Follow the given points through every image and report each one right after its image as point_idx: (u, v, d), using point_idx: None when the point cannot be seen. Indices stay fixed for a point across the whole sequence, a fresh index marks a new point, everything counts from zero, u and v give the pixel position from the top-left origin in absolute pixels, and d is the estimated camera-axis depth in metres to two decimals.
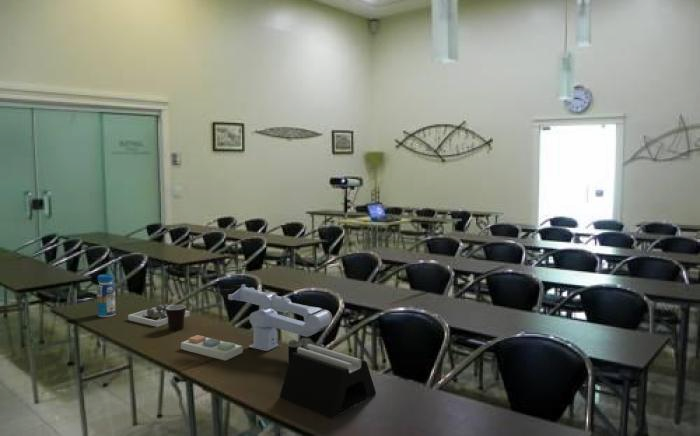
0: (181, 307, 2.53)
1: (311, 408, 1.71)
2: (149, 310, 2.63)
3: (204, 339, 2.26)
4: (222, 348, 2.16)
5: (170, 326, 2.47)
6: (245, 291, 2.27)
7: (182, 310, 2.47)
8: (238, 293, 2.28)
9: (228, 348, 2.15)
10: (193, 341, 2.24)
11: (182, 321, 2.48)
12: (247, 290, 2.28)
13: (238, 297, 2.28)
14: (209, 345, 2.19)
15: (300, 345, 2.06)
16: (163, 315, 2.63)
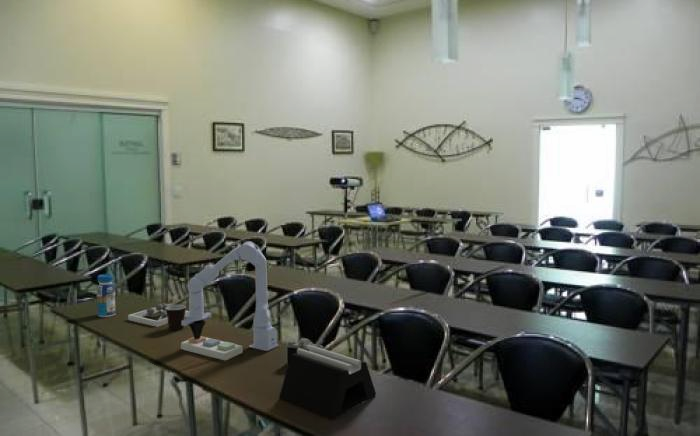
0: (181, 307, 2.53)
1: (310, 409, 1.70)
2: (149, 310, 2.63)
3: (204, 340, 2.26)
4: (222, 348, 2.16)
5: (170, 326, 2.47)
6: (189, 310, 2.24)
7: (182, 310, 2.47)
8: (189, 318, 2.23)
9: (228, 348, 2.15)
10: (193, 342, 2.24)
11: None
12: None
13: (192, 319, 2.22)
14: (209, 345, 2.19)
15: (299, 346, 2.05)
16: (164, 314, 2.64)
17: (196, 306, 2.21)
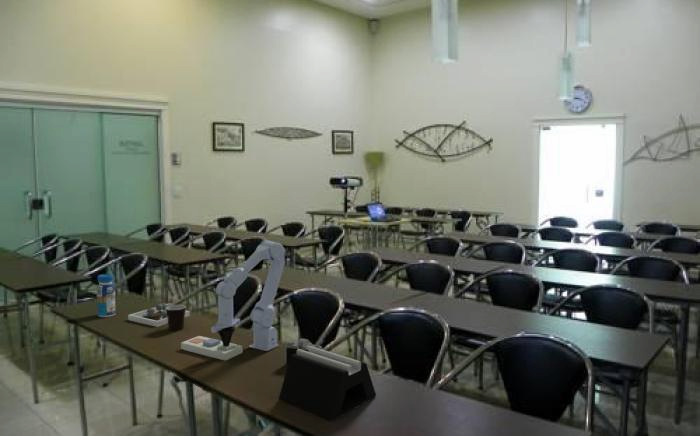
0: (181, 307, 2.53)
1: (310, 410, 1.69)
2: (150, 310, 2.63)
3: None
4: (222, 349, 2.16)
5: (170, 326, 2.47)
6: (218, 317, 2.16)
7: (182, 310, 2.47)
8: (219, 325, 2.15)
9: (228, 349, 2.15)
10: None
11: (182, 321, 2.48)
12: None
13: (222, 325, 2.14)
14: (209, 345, 2.19)
15: (298, 346, 2.05)
16: (165, 314, 2.65)
17: (230, 312, 2.14)
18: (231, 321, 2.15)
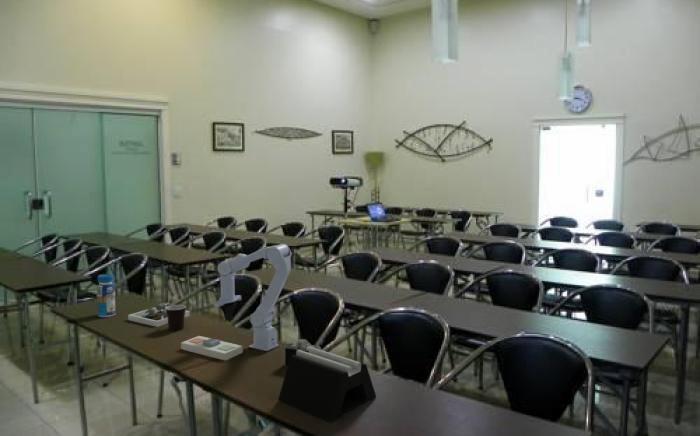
0: (181, 307, 2.53)
1: (310, 412, 1.68)
2: (151, 310, 2.63)
3: None
4: None
5: (170, 326, 2.47)
6: None
7: (182, 310, 2.47)
8: (221, 300, 2.29)
9: None
10: None
11: (182, 321, 2.48)
12: None
13: (224, 301, 2.29)
14: (209, 345, 2.19)
15: (296, 347, 2.04)
16: (166, 313, 2.66)
17: (225, 288, 2.28)
18: (233, 297, 2.30)
